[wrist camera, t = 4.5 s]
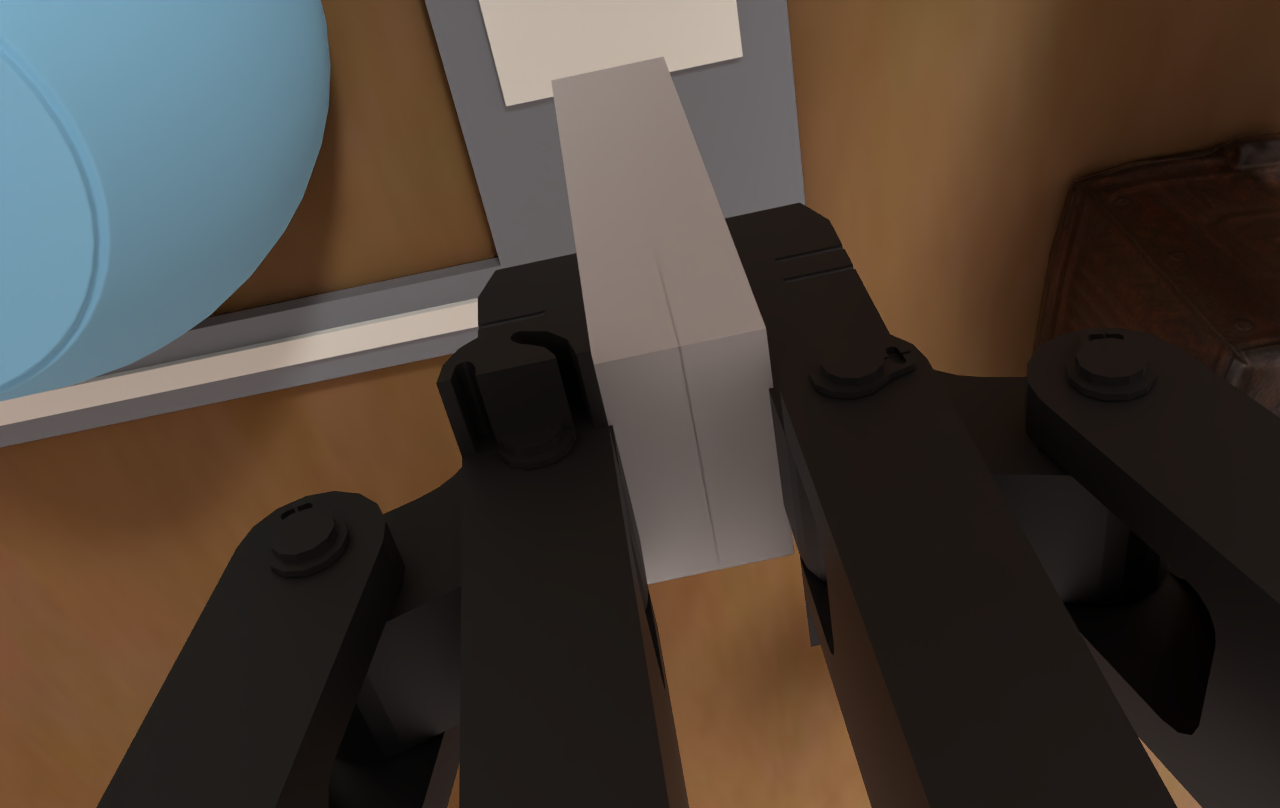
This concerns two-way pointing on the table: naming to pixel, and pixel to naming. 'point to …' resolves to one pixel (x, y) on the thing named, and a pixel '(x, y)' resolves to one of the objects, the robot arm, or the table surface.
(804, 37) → the table surface
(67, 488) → the table surface
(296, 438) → the table surface
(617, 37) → the label board
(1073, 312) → the brown manual coffee grinder
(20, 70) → the sugar bowl
